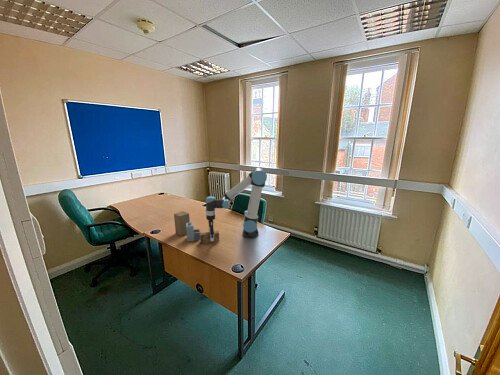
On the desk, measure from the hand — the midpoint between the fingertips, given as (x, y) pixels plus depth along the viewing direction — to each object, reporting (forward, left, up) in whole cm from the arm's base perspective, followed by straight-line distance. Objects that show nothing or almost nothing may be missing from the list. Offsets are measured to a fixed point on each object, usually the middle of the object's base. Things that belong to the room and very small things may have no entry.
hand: (211, 237), depth 182 cm
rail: (+2, 0, -4) cm, 4 cm away
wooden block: (+25, -23, -4) cm, 34 cm away
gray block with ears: (+15, -9, -4) cm, 17 cm away
